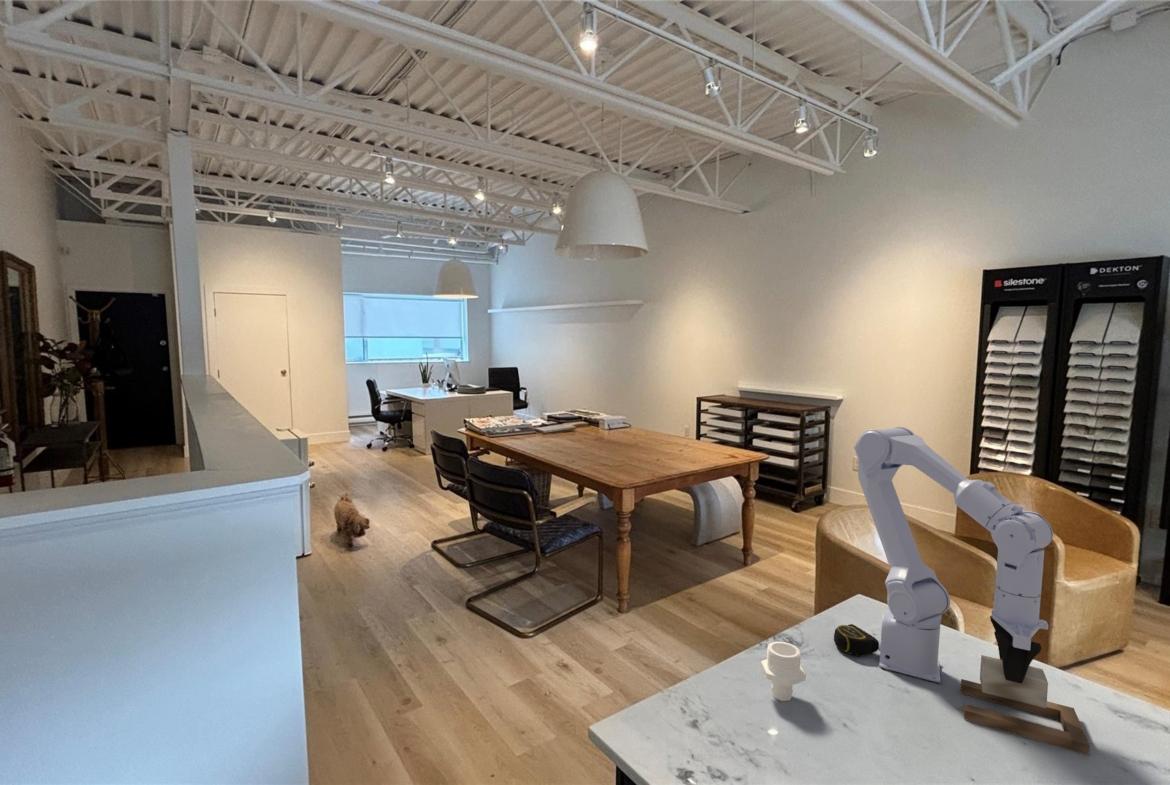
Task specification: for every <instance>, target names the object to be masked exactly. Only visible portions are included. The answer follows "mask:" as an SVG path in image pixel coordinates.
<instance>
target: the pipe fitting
mask: <svg viewBox="0 0 1170 785" xmlns="http://www.w3.org/2000/svg"><path fill="white" fill-rule="evenodd" d="M801 653H802V652H801V650H800V649H799V648H798V647H797V646H796V645H794V644H792V643H789V642H786V641H785V642H784V641H773V642H770V643H769V644H767V653H766V659H763V660H761V662H760V668H761V669H762V672H763V674H764V676H765V679H766V680H770V681H771V695H772V696H773V698H775V699H776V700H778V701H782V702H788V701H790V700H792V697H793V686H794V685H797V684H799V683H802V682H805V681H806V676H807V674H806V673H805V671H804V669H803V667H802V666H801V657H802V656H801Z"/></svg>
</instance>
